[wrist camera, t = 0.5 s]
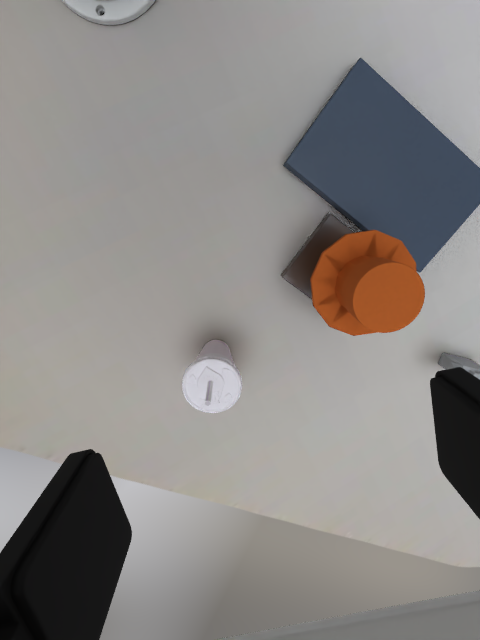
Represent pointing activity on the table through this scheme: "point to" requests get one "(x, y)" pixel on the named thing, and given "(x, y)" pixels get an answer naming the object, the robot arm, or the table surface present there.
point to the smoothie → (212, 379)
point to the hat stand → (313, 253)
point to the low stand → (387, 166)
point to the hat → (367, 284)
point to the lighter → (459, 363)
